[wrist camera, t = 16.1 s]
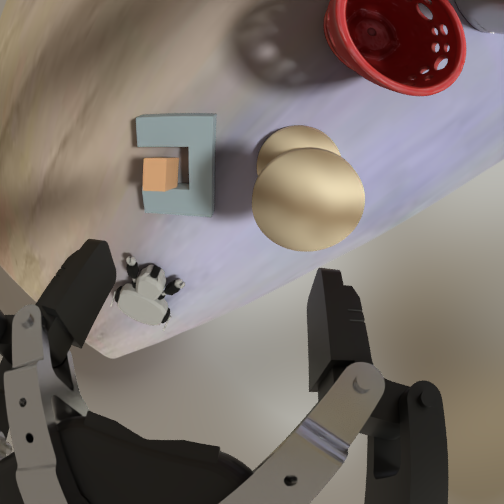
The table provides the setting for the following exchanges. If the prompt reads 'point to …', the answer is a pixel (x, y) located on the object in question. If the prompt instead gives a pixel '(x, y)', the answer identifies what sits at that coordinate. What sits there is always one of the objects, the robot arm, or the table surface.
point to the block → (160, 174)
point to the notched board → (200, 161)
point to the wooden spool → (305, 190)
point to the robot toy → (146, 294)
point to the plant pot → (397, 42)
